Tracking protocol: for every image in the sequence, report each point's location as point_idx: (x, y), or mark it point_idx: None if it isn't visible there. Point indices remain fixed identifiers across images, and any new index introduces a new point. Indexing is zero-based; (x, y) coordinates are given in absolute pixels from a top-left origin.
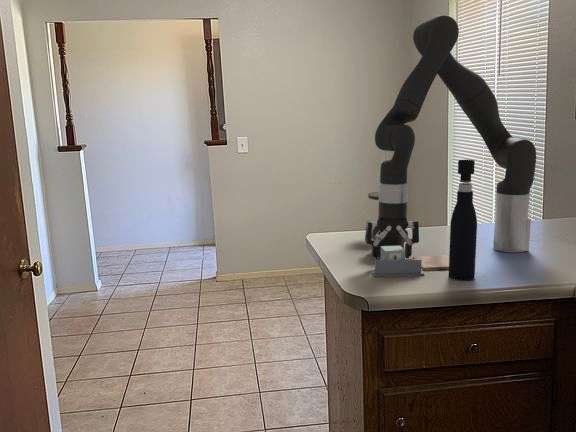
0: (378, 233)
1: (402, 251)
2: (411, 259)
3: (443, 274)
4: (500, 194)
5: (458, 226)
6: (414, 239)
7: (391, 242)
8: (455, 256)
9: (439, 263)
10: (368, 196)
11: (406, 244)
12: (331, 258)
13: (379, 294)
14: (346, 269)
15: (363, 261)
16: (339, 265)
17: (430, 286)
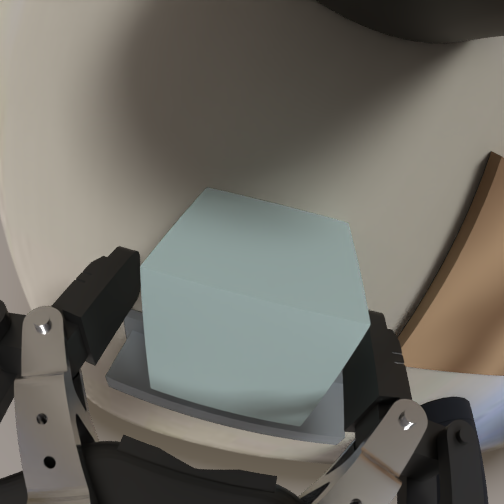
0: (33, 419)
1: (279, 419)
2: (293, 434)
3: (412, 397)
4: None
5: None
6: (401, 478)
7: (421, 3)
8: (397, 499)
9: (495, 334)
10: None
11: (370, 410)
12: (8, 13)
13: (136, 419)
14: (34, 209)
15: (123, 73)
16: (12, 138)
17: (287, 442)
